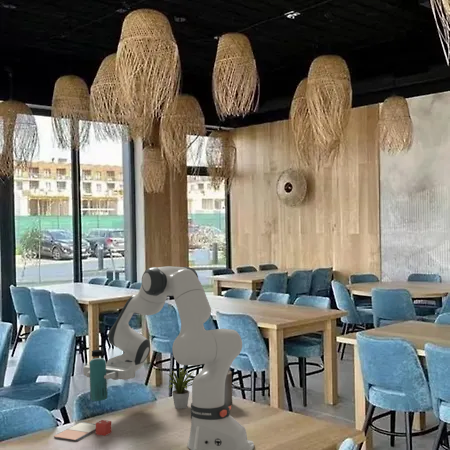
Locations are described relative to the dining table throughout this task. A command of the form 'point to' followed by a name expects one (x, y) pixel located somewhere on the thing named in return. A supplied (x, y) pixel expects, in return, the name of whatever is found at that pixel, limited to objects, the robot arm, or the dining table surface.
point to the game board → (77, 431)
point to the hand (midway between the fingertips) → (96, 376)
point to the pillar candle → (228, 389)
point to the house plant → (180, 389)
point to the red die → (103, 427)
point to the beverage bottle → (98, 377)
